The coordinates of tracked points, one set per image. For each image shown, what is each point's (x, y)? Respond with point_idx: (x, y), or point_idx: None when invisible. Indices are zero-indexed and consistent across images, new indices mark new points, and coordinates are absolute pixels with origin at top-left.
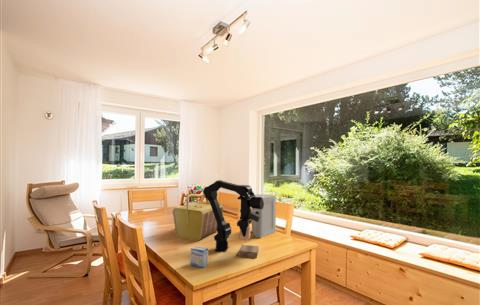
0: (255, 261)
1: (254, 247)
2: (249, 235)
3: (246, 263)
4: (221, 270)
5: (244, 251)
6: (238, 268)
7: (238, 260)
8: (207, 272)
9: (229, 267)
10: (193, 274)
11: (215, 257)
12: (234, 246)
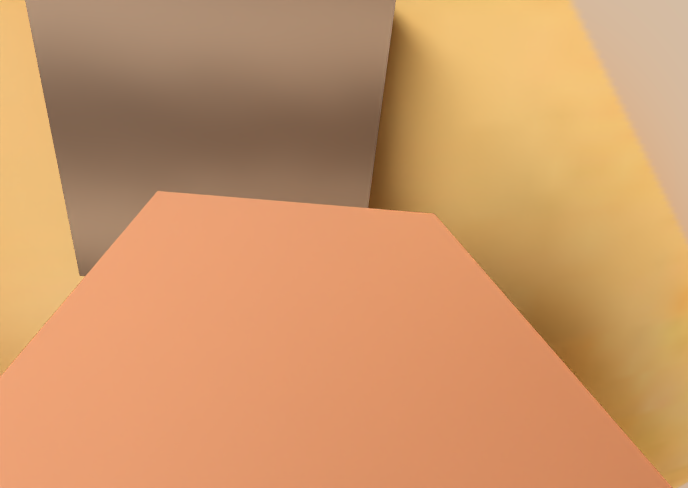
0: (495, 17)
1: (138, 32)
2: (336, 244)
3: (542, 141)
4: (645, 340)
5: (367, 206)
6: (643, 214)
7: (457, 237)
8: (651, 413)
9: (605, 294)
10: (656, 469)
11: None
12: (15, 341)
